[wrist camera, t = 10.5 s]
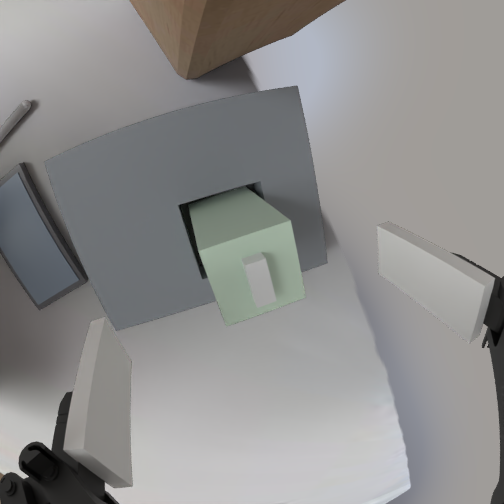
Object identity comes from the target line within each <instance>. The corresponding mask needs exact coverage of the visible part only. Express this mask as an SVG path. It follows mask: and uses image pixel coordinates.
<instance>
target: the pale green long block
mask: <svg viewBox="0 0 504 504" xmlns="http://www.w3.org/2000/svg"><path fill="white" fill-rule="evenodd" d="M188 206H189V211H190V216H191V220H192V225H193V229H194V234H195V238H196V243H197V247H198V251H199V254H200V257H201V260H202V263H203V265H204V268H205V271H206V274H207V276H208V279H209V282H210V285H211V287H212V290H213V293H214V295H215V298H216V301H217V303H218V306H219V308H220V311H221V314H222V316H223V319H224V321H225V324H226V326H230V325H233V324H236V323H238V322H241V321H244V320H247V319H250V318H253V317H255V316H258V315H261V314H264V313H266V312H269V311H272V310H274V309H277V308H280V307H282V306H285V305H288V304H290V303H293V302H295V301H298V300H301V299H303V298H306V295H305V290H304V285H303V279H302V274H301V269H300V264H299V259H298V254H297V249H296V244H295V239H294V234H293V229H292V224H291V220H289V219H288V218H287V217H286V216H284V215H283V214H282V213H280V212H279V211H278V210H276V209H275V208H274V207H272V206H271V205H270V204H268V203H267V202H266V201H264V200H263V199H262V198H260V197H259V196H257V195H256V194H255V193H253V192H252V191H251V190H249V189H248V188H247V187H245V186H244V187H241V188H238V189H235V190H231V191H228V192H225V193H222V194H219V195H216V196H213V197H209V198H206V199H203V200H200V201H197V202H194V203H191V204H188Z"/></svg>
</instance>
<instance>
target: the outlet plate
mask: <svg viewBox="0 0 504 504" xmlns="http://www.w3.org/2000/svg"><path fill="white" fill-rule="evenodd" d="M44 163H45V166H46V169H47V173H48V176H49V179H50V182H51V185H52V188H53V191H54V194H55V197H56V200H57V203H58V206H59V209H60V211H61V214H62V217H63V220H64V222H65V225H66V227H67V230H68V232H69V235H70V237H71V240H72V242H73V245H74V247H75V249H76V252H77V254H78V256H79V259H80V261H81V263H82V265H83V267H84V270H85V272H86V274H87V276H88V278H89V280H90V282H91V284H92V286H93V288H94V290H95V293H96V294H97V296H98V298H99V300H100V302H101V304H102V306H103V308H104V310H105V312H106V314H107V316H108V317H109V319H110V321H111V323H112V325H113V326H114V328H115V330H116V331H118V330H121V329H125V328H128V327H131V326H135V325H138V324H142V323H145V322H149V321H152V320H155V319H159V318H162V317H165V316H169V315H172V314H175V313H178V312H182V311H185V310H188V309H191V308H195V307H198V306H201V305H204V304H207V303H211V302H214V301H216V298H215V295H214V293H213V290H212V287H211V285H210V282H209V279H208V276H207V274H206V271H205V268H204V265H201V266H199V264H198V261H197V258H196V255H195V252H194V249H193V246H192V243H191V240H190V237H189V233H188V230H187V227H186V224H185V221H184V218H183V214H182V211H181V208H180V204H184V203H187V202H190V201H193V200H196V199H200V198H203V197H206V196H210V195H213V194H216V193H220V192H223V191H227V190H230V189H234V188H237V187H241V186H245V185H248V184H252V183H253V184H254V188H255V193H256V195H257V196H259V197H260V198H262V199H263V200H264V201H266V202H267V203H268V204H270V205H271V206H272V207H274V208H275V209H276V210H278V211H279V212H280V213H282V214H283V215H284V216H286V217H287V218H288V219H289V220H291V224H292V229H293V234H294V239H295V244H296V249H297V254H298V259H299V264H300V269H301V272H304V271H307V270H309V269H312V268H315V267H318V266H321V265H324V264H326V263H328V262H327V253H326V245H325V237H324V230H323V222H322V215H321V208H320V202H319V196H318V189H317V183H316V177H315V171H314V165H313V160H312V154H311V148H310V143H309V138H308V133H307V128H306V123H305V118H304V113H303V108H302V104H301V99H300V95H299V90H298V86H292V87H284V88H278V89H272V90H265V91H259V92H254V93H248V94H243V95H238V96H233V97H229V98H224V99H220V100H215V101H211V102H207V103H203V104H199V105H195V106H191V107H188V108H184V109H180V110H177V111H173V112H170V113H166V114H163V115H160V116H157V117H154V118H150V119H147V120H144V121H141V122H138V123H135V124H133V125H130V126H127V127H124V128H121V129H119V130H116V131H113V132H111V133H108V134H105V135H103V136H100V137H98V138H95V139H93V140H91V141H88V142H86V143H83V144H81V145H79V146H76V147H74V148H72V149H70V150H68V151H65V152H63V153H61V154H59V155H57V156H55V157H53V158H51V159H48V160H46V161H44Z"/></svg>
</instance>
